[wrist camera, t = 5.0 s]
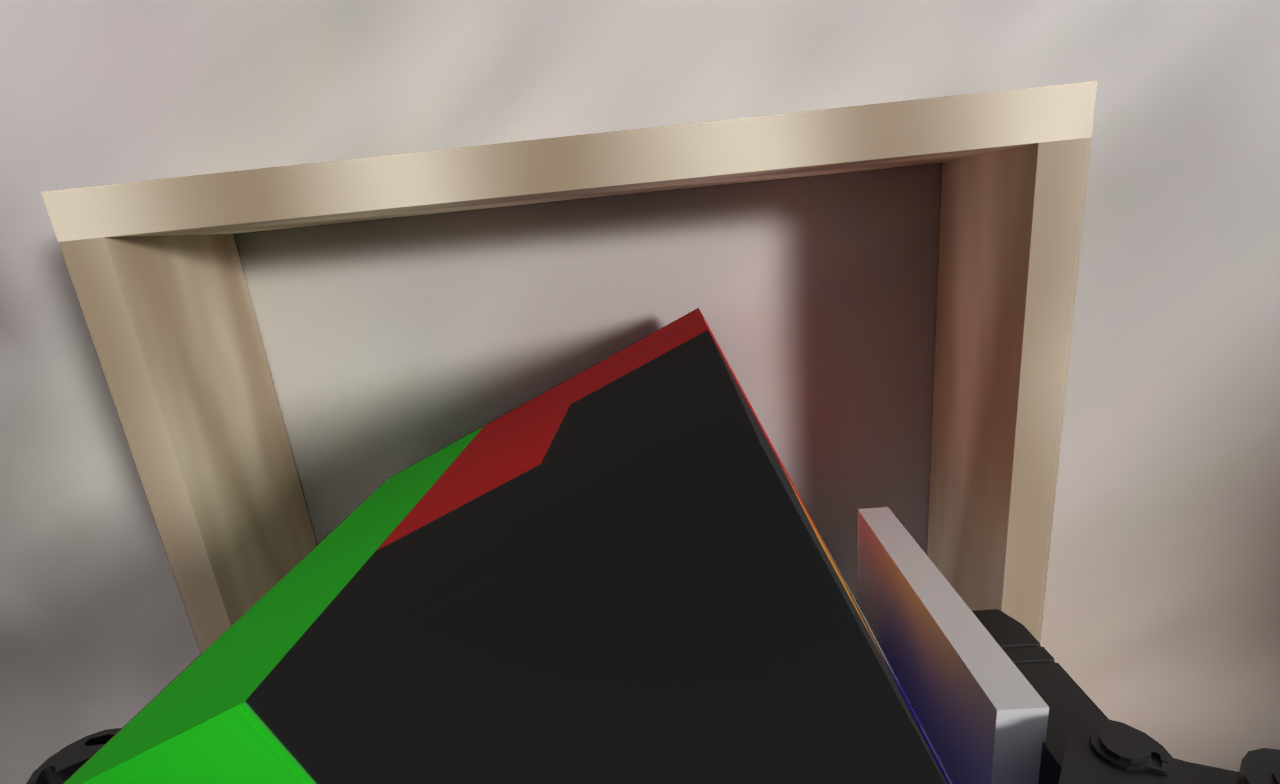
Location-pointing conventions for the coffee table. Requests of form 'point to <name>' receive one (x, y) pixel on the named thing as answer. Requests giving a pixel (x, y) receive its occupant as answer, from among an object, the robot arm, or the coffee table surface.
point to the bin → (577, 169)
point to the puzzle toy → (555, 616)
